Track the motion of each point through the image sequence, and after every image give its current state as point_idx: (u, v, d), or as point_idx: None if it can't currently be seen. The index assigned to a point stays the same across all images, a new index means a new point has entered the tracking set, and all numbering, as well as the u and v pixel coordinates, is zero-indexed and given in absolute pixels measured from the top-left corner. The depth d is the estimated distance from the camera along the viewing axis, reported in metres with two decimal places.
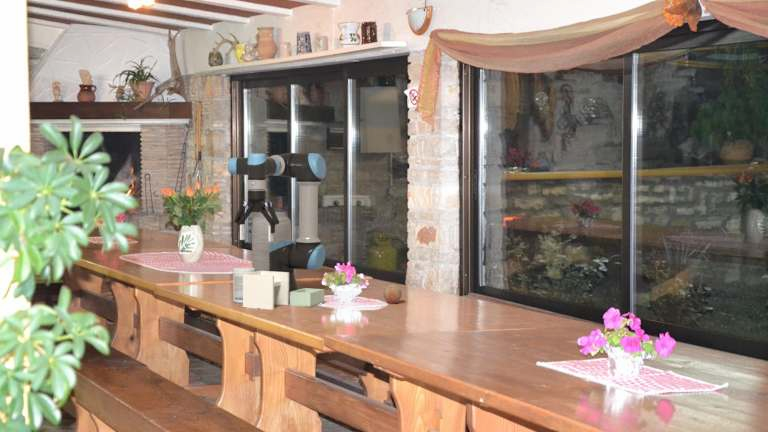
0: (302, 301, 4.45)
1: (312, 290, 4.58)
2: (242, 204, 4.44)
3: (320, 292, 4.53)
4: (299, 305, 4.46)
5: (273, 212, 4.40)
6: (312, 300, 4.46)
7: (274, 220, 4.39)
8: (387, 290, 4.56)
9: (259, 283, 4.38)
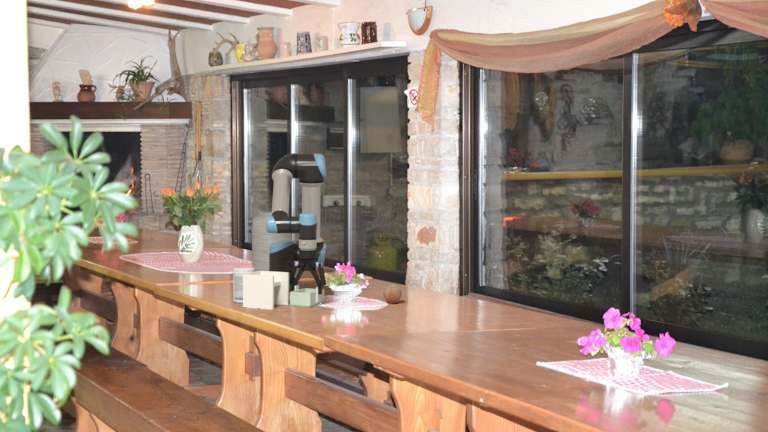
0: (302, 301, 4.45)
1: (312, 290, 4.58)
2: (293, 264, 4.52)
3: None
4: (299, 305, 4.46)
5: (322, 273, 4.49)
6: (312, 300, 4.46)
7: (322, 282, 4.48)
8: (387, 290, 4.56)
9: (259, 283, 4.38)
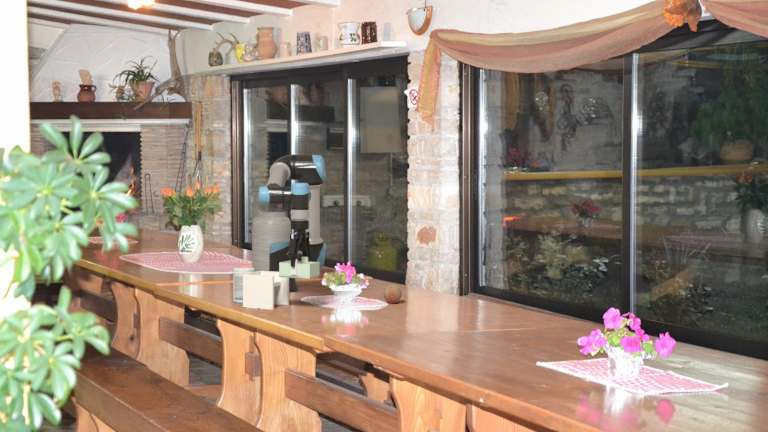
0: None
1: None
2: None
3: (301, 265, 4.34)
4: None
5: (291, 245, 4.32)
6: (282, 270, 4.37)
7: None
8: (387, 290, 4.56)
9: (259, 283, 4.38)
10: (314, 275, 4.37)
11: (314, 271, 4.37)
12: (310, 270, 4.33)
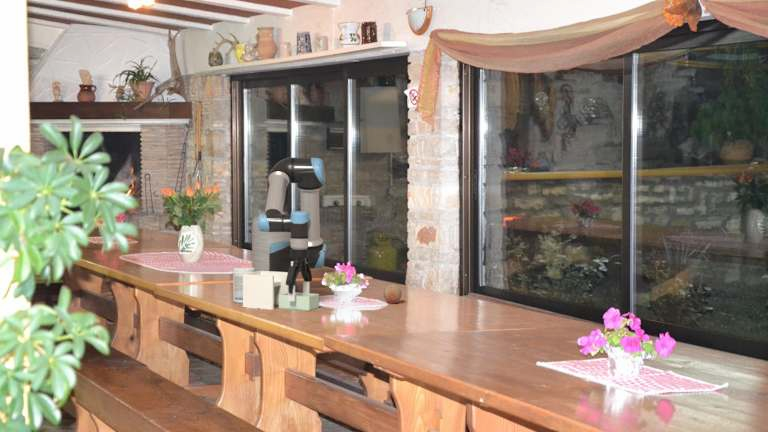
0: None
1: None
2: None
3: (300, 298, 4.35)
4: None
5: (290, 272, 4.32)
6: (282, 302, 4.38)
7: None
8: (387, 290, 4.56)
9: (259, 283, 4.38)
10: (314, 307, 4.38)
11: (313, 303, 4.37)
12: (310, 302, 4.34)
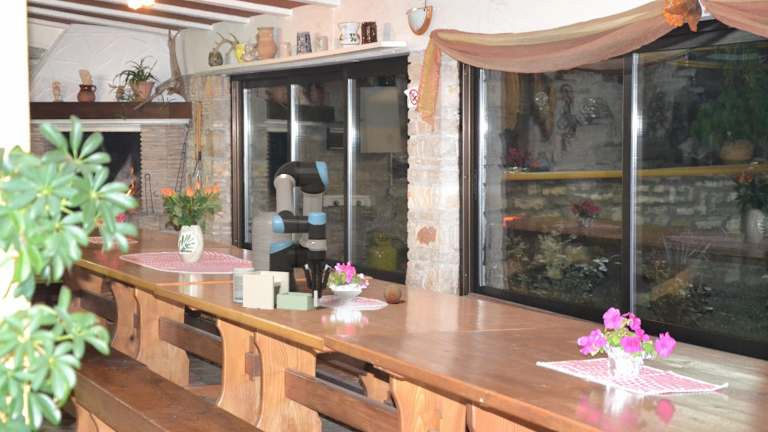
0: None
1: None
2: (304, 268, 4.37)
3: (298, 298, 4.35)
4: None
5: (327, 278, 4.35)
6: (280, 302, 4.38)
7: (323, 285, 4.35)
8: (387, 290, 4.56)
9: (259, 283, 4.38)
10: (312, 307, 4.38)
11: (311, 303, 4.38)
12: (308, 302, 4.34)
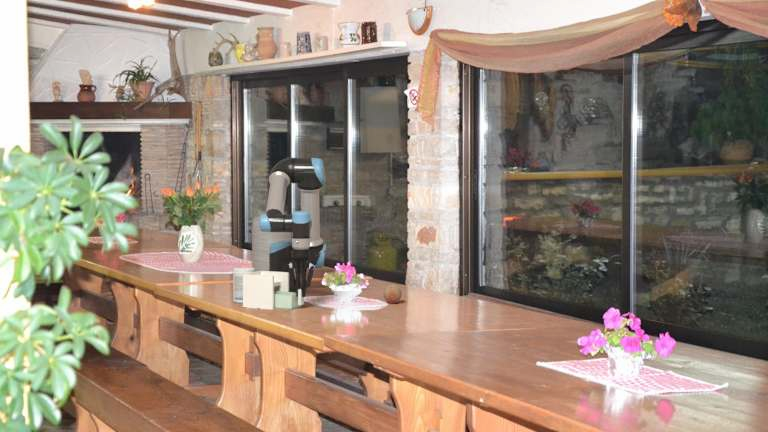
0: None
1: None
2: (288, 267, 4.40)
3: (283, 297, 4.38)
4: None
5: (311, 276, 4.38)
6: None
7: (307, 284, 4.37)
8: (387, 290, 4.56)
9: (259, 283, 4.38)
10: (296, 306, 4.41)
11: (296, 302, 4.40)
12: (292, 301, 4.37)
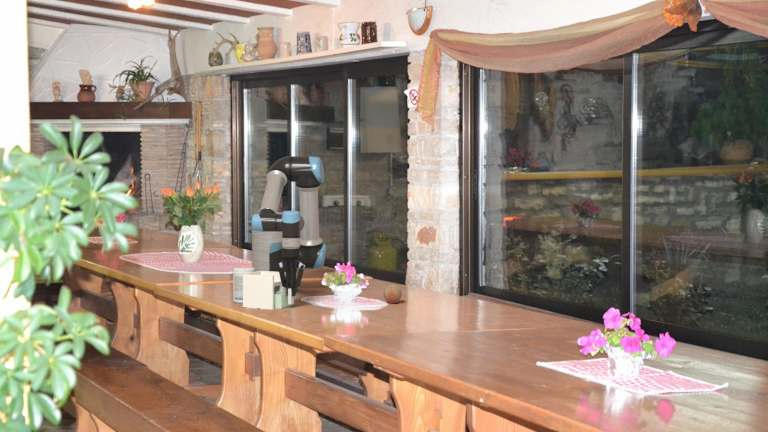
0: None
1: None
2: (278, 266, 4.42)
3: None
4: None
5: (301, 275, 4.39)
6: None
7: (297, 283, 4.39)
8: (387, 290, 4.56)
9: (259, 283, 4.38)
10: (286, 305, 4.42)
11: (286, 301, 4.42)
12: (282, 301, 4.39)
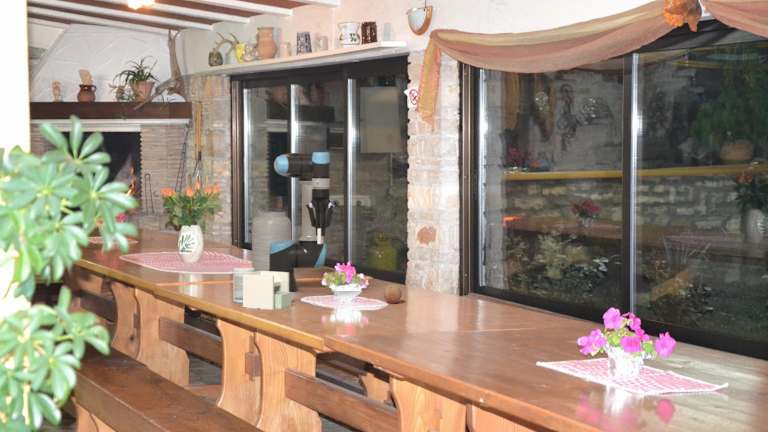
0: None
1: None
2: (308, 207, 4.49)
3: None
4: None
5: (330, 215, 4.47)
6: None
7: (326, 223, 4.47)
8: (387, 290, 4.56)
9: (259, 283, 4.38)
10: (286, 305, 4.42)
11: (286, 301, 4.42)
12: (282, 301, 4.39)
